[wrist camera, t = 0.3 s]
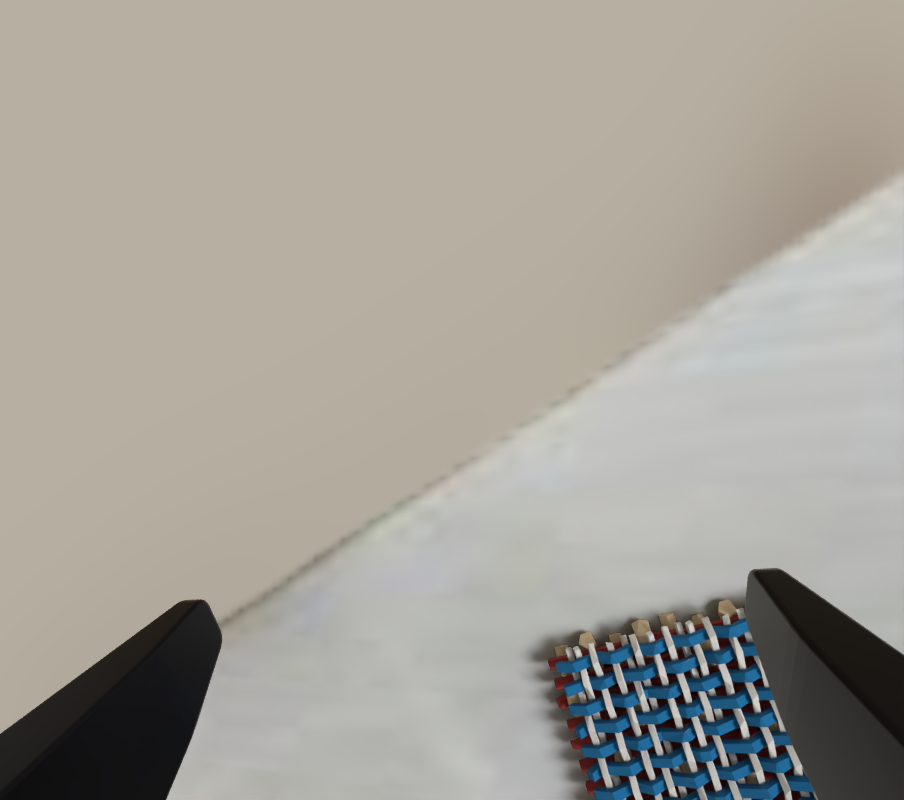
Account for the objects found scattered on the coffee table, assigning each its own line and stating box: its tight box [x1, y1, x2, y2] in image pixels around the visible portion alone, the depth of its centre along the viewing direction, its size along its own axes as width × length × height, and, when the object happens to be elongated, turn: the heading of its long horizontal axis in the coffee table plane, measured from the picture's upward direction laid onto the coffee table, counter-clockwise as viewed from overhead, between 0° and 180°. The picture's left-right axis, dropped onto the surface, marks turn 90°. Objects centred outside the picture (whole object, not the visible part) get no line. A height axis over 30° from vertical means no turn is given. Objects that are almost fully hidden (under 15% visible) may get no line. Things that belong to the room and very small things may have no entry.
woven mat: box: [548, 599, 818, 800], centre depth 21 cm, size 10×11×2 cm
